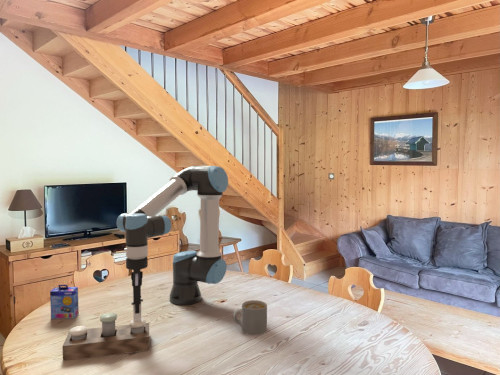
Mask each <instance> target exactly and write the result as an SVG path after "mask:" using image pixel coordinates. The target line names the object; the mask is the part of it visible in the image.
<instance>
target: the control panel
mask: <svg viewBox="0 0 500 375" xmlns="http://www.w3.org/2000/svg"><path fill="white" fill-rule="evenodd" d="M85 337H86V339H83V340H73V341H72V336H71V335H70V330H69V331H68V334H66V337H65V339H64V342H63V344H62V347H61V348H62V361H71V360H80V359H88V358H94V357H95V358H96V357H103V356H105V357H106V356H113V355H120V354H131V353H137V352H138V353H139V352H146V351H148V352H149V351H150V322H146V324H145V325H144V333H139V334H132V327H130V324H124V325H123V324H121V325H115V335H114V336H111V337H102V326H101V327H92V328H87V333H85Z"/></svg>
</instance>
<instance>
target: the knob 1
mask: <svg viewBox="0 0 500 375" xmlns="http://www.w3.org/2000/svg"><path fill="white" fill-rule="evenodd" d="M87 329H88V327H87V326H85V325H78V326H74V327H71V328H70V329H69V331H70V335H71V336H72V341H73V340H83V339H86V337H85V333H87Z"/></svg>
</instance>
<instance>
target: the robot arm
mask: <svg viewBox="0 0 500 375" xmlns="http://www.w3.org/2000/svg"><path fill="white" fill-rule="evenodd" d="M228 186H229V177H228V174H227V172H226V171H225V169H224V168H223V167H221V166H217V165H191V166H188V167H186V168H184V169H182V170H180V171H179V172H177V173H176V174H174V175H173V176H171V177H170V179H169V182H168V183H166V184H165V185H164V186H162V187H161V188H160V189H159V190H158V191H156V192H155V193H154V194H153V195H151V196H150V197H148V199H146V200H145V201H144V202H141V203H140V205H138V206H137V207H136V208H135V209H133V210H131V211H130V212H129V213H128V212H125V213H121V214H120V215H118V217H117V219H116V227H117V230H119V231H120V232H123V233H125V248H124V249H123V250H124V252H125V257H126V258H125V268H126V269H127V270H132V271H131V272H130V273H131V274H130V275H131V276H130V277H131V287H132V293H133V294H132V299H133V301H132V302H131V306H133V310H132V312H133V317H132V320H133V322H138V321H141V318H142V302H144V299H143V298H142V289H141V288H142V285H143V277H144V276H143V274H144V273H143V272H144V271H142V270H143V269H146V268H148V266H149V264H148V261H149V260H148V255H149V250H148V249H149V246H148V242H149V241H148V239H151V238H156V237H161V236H163V235H167V234H169V233H170V231H171V230H172V222H171V219H170V217H168V215H164V214H163V215H160V214H159V213H160V212H162V211H163V210H164V209H165V208H166V207H167V206H169V205H170V204H171V203H173V201H176V200H175V199H177V198H178V197H179V196H183V195H185V194H186V193H187V192H191V191H197V193H196V194H197V196H198V198H199V199H200V209H199V210H200V215H199V217H200V219H199V220H200V221H199V222H200V224H199V251H197V250H185V251H180V252H177V253H175V254H174V255H173V257H172V287H171V290H170V292H169V302H170V303H172V304H175V305H178V306H179V305H180V306H183V305H184V306H185V305H187V306H188V305H193V304H196V303H198V302H200V301H201V300H202V292H201V290H200V289H201V288H200V286H199V283H198V282H200V283H204V284H210V285H211V284H212V285H217V284H220V282H221V281H222V280H223V279H224V277H225V276H226V272H227V262H226V260H225V259H224V258H222V256H223V255H222V252H221V251H220V250H219V241H220V240H219V238H220V236H219V234H220V233H219V232H220V231H219V229H220V199H221V198H222V197H223V195H224V192H226V190H227V188H228ZM158 214H159V215H158Z"/></svg>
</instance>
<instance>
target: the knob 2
mask: <svg viewBox="0 0 500 375" xmlns="http://www.w3.org/2000/svg"><path fill="white" fill-rule="evenodd" d="M146 323H147V321H146V318H144V317H141V321H138V322H133V319H131V320H130V321H129V325H130V327H132V334H139V333H144V325H145V324H146Z"/></svg>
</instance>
